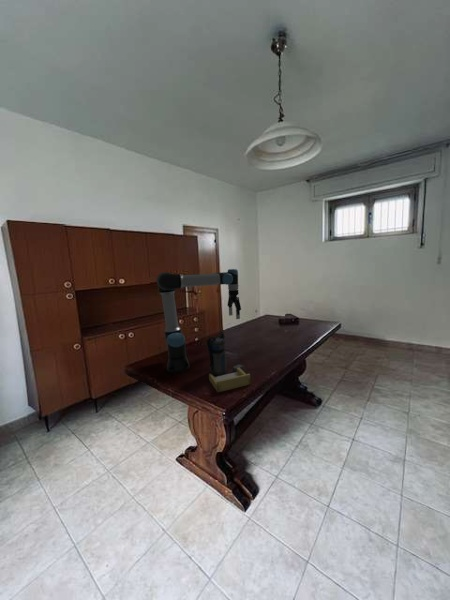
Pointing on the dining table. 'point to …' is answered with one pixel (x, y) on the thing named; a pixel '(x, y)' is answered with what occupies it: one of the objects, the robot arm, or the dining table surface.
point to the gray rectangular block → (238, 367)
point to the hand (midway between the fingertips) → (234, 317)
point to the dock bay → (230, 380)
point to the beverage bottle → (217, 354)
